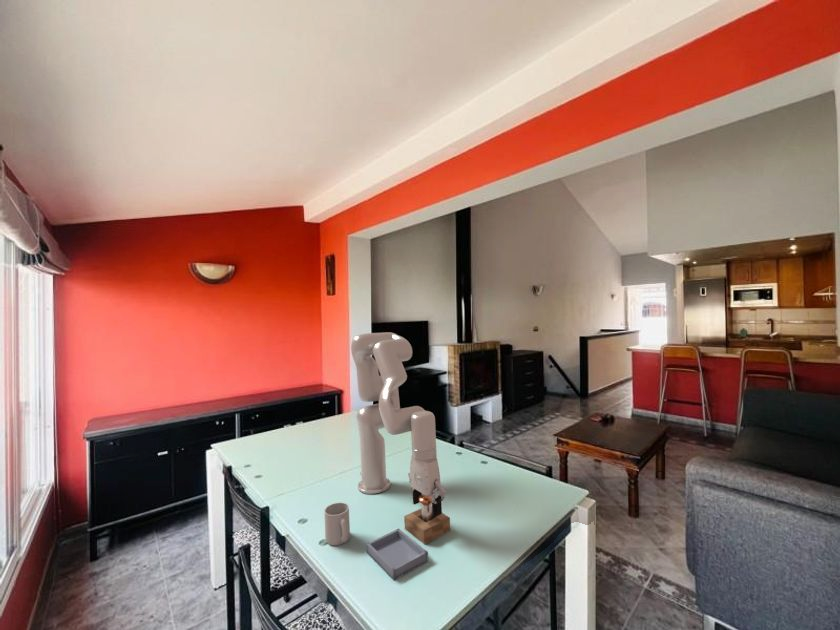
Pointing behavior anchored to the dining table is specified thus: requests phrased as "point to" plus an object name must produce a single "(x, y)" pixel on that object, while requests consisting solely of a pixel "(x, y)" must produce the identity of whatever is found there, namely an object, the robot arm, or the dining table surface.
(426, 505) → the pin
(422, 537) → the hitch block
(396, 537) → the tray
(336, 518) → the cup
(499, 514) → the dining table surface
